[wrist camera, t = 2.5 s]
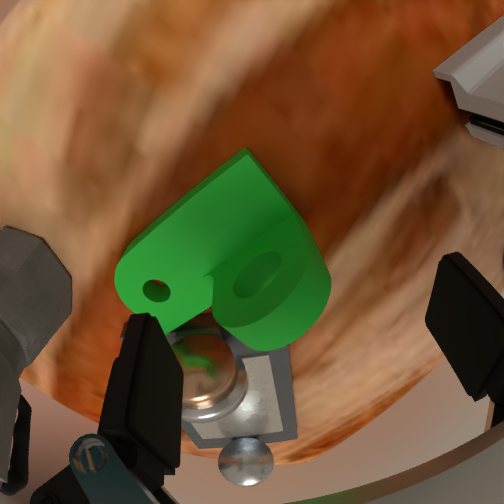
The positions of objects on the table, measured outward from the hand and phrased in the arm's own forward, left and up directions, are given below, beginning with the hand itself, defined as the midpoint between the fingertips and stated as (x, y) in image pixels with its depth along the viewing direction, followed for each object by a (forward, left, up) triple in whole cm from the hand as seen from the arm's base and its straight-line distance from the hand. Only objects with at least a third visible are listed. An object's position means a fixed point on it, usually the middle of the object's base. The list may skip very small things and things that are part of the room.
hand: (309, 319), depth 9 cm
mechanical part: (+5, +2, -10) cm, 11 cm away
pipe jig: (+6, +18, -10) cm, 22 cm away
